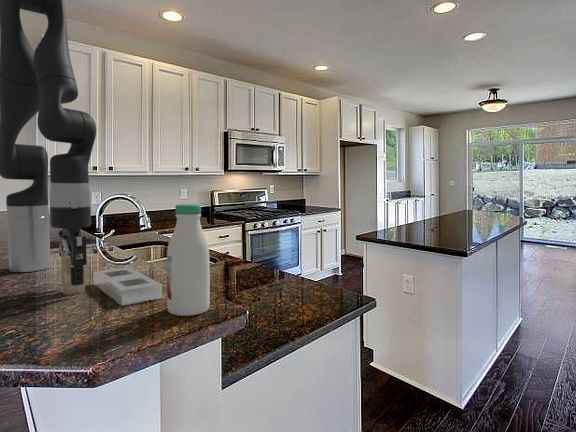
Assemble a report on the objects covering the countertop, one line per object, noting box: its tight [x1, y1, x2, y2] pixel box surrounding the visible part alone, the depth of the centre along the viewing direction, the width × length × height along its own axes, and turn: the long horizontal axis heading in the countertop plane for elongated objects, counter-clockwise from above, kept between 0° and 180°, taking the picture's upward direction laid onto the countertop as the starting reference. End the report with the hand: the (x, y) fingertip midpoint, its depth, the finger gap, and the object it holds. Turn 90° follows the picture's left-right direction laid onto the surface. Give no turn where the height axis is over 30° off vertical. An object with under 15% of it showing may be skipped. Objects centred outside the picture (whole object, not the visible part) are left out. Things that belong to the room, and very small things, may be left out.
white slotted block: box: [93, 266, 163, 307], centre depth 83 cm, size 20×8×3 cm, turn 41°
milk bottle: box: [166, 203, 211, 317], centre depth 70 cm, size 8×8×20 cm
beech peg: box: [60, 250, 86, 296], centre depth 81 cm, size 4×4×9 cm
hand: (73, 280), depth 81 cm, fingers open, 7 cm apart
